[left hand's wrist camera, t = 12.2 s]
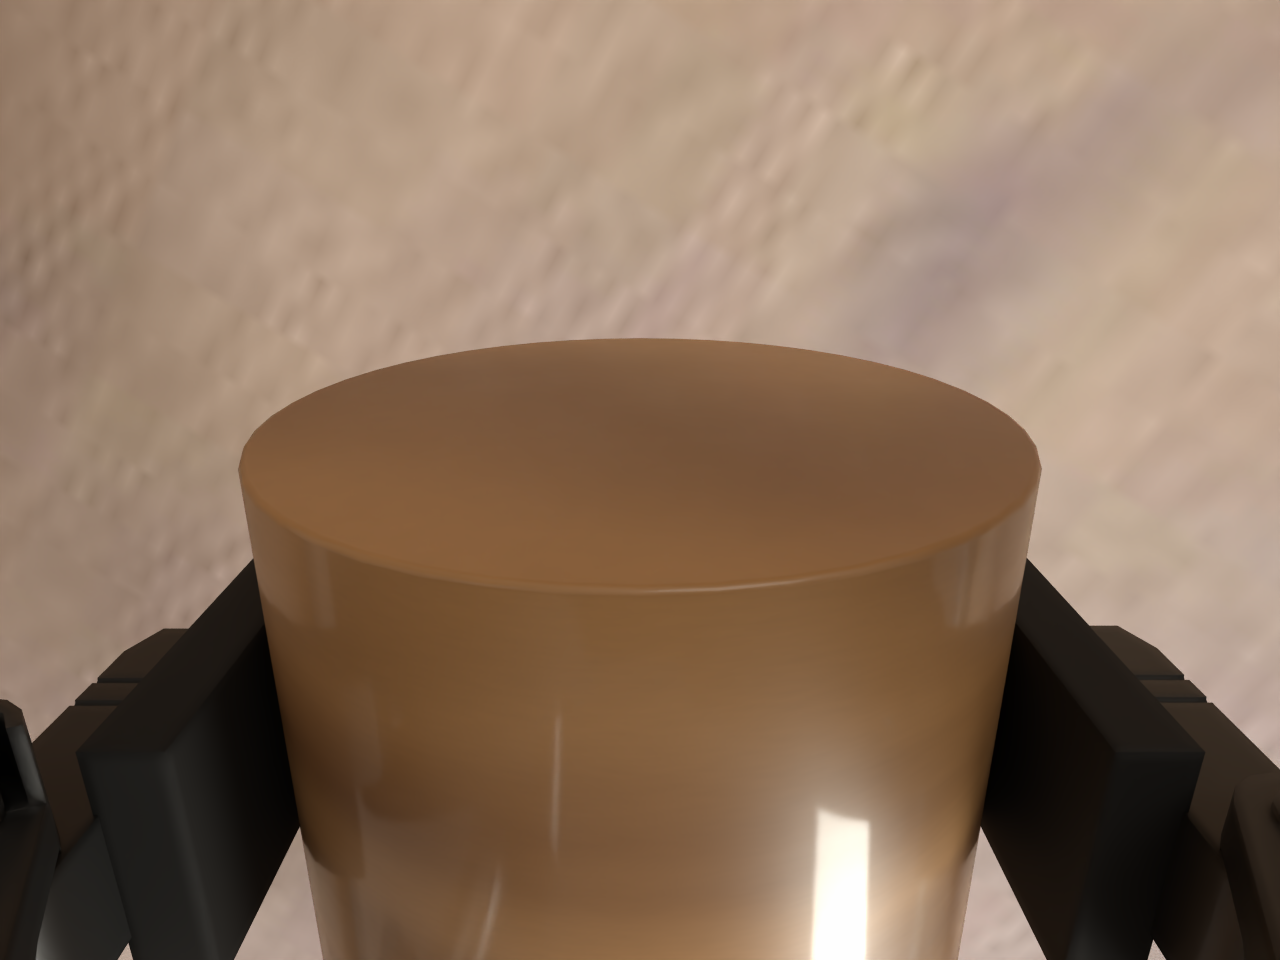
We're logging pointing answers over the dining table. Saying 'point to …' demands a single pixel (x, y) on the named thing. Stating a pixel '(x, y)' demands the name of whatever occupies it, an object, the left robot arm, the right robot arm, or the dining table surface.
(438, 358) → the rod
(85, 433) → the dining table surface
